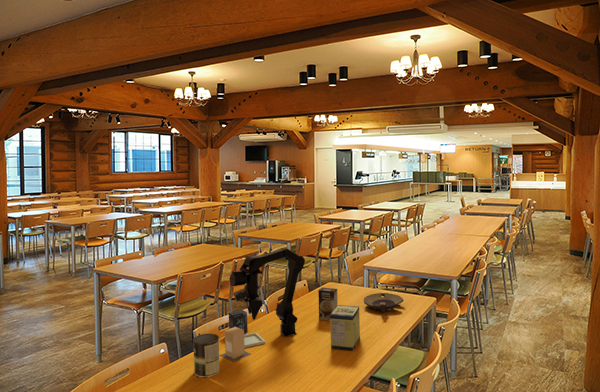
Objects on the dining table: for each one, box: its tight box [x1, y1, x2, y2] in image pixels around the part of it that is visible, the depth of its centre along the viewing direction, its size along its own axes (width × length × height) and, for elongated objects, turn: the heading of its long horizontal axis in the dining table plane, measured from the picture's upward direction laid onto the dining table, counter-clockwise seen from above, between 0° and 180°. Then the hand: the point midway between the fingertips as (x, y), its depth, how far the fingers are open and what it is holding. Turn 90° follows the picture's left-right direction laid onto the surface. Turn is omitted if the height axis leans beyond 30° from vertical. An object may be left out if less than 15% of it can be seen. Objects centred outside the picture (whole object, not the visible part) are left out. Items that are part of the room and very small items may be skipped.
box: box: [228, 309, 249, 334], centre depth 220 cm, size 8×6×11 cm
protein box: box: [329, 304, 361, 351], centre depth 202 cm, size 10×16×16 cm
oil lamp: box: [363, 292, 404, 312], centre depth 250 cm, size 22×30×8 cm
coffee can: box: [192, 333, 221, 378], centre depth 177 cm, size 10×10×14 cm
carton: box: [224, 327, 246, 359], centre depth 192 cm, size 6×6×11 cm
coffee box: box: [318, 287, 338, 321], centre depth 236 cm, size 9×6×16 cm
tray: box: [244, 332, 266, 349], centre depth 207 cm, size 12×12×2 cm
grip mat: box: [219, 351, 252, 363], centre depth 193 cm, size 10×10×1 cm
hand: (251, 316), depth 205 cm, fingers open, 9 cm apart
